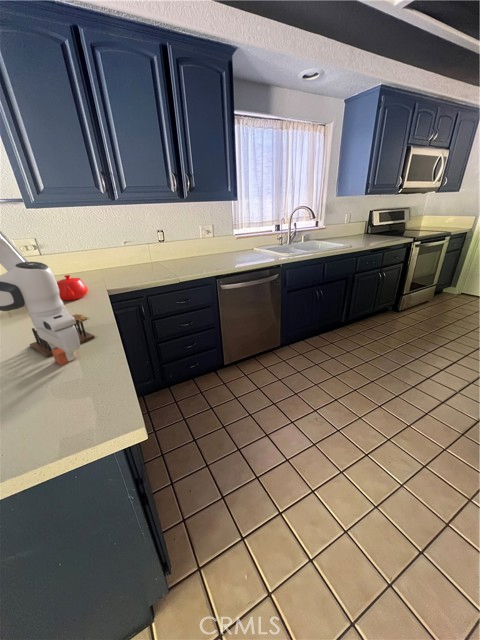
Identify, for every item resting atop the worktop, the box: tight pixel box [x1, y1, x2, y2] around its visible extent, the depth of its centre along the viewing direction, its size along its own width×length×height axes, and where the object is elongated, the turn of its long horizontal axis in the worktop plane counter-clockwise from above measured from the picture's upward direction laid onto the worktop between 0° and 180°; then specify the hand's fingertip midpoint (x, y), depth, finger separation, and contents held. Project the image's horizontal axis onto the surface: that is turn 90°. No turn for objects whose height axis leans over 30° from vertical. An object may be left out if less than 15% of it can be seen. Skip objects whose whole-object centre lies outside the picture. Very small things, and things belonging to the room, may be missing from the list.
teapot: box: [56, 274, 89, 301], centre depth 142 cm, size 25×16×12 cm, turn 26°
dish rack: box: [29, 320, 95, 358], centre depth 96 cm, size 16×14×7 cm
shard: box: [71, 313, 88, 325], centre depth 113 cm, size 11×8×2 cm
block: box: [52, 348, 75, 366], centre depth 85 cm, size 4×4×4 cm
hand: (63, 355), depth 85 cm, fingers open, 7 cm apart
